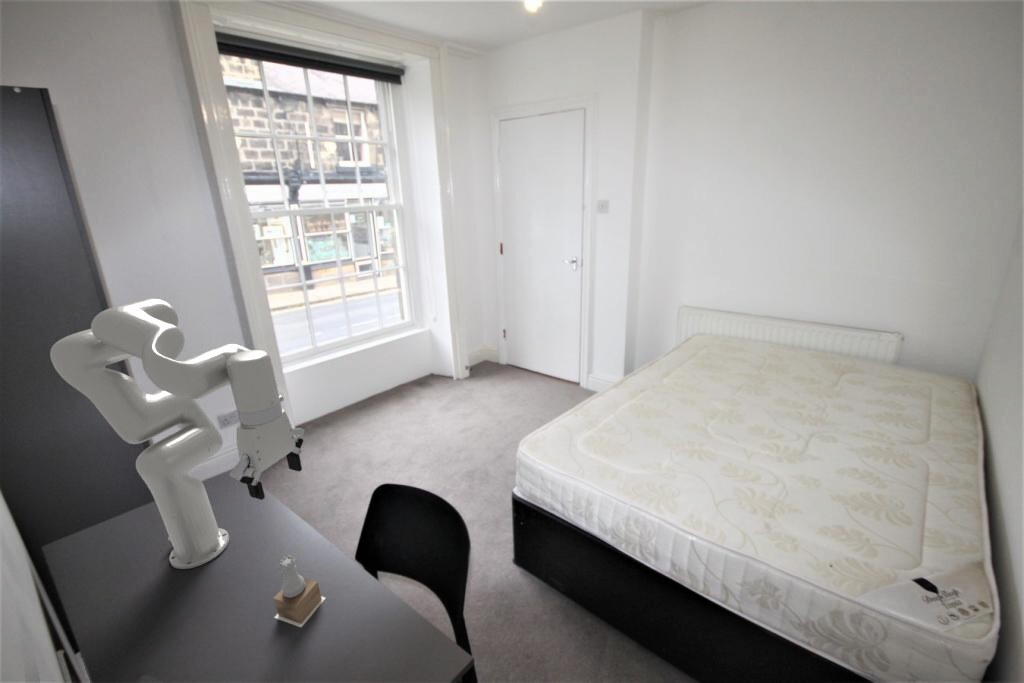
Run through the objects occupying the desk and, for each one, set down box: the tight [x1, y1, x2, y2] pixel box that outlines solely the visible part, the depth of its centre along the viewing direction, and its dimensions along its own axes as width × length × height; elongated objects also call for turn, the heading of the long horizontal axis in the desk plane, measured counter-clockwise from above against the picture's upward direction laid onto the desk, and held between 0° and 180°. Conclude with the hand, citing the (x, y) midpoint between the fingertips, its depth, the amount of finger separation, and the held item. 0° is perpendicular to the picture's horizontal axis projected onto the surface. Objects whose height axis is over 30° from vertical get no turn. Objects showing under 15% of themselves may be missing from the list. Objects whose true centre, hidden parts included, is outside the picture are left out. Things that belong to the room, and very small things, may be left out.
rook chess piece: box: [278, 555, 306, 598], centre depth 93 cm, size 4×4×8 cm
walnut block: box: [272, 577, 322, 624], centre depth 95 cm, size 6×6×5 cm
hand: (277, 482), depth 95 cm, fingers open, 9 cm apart
